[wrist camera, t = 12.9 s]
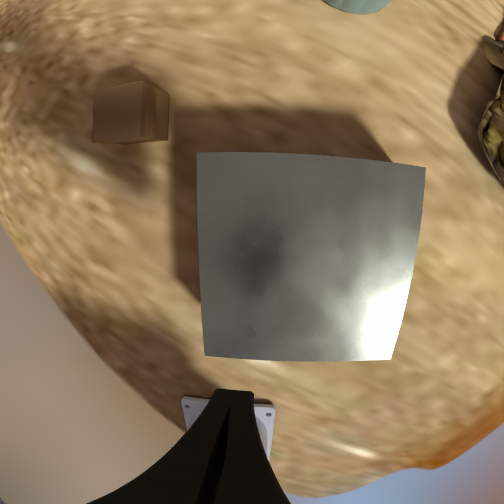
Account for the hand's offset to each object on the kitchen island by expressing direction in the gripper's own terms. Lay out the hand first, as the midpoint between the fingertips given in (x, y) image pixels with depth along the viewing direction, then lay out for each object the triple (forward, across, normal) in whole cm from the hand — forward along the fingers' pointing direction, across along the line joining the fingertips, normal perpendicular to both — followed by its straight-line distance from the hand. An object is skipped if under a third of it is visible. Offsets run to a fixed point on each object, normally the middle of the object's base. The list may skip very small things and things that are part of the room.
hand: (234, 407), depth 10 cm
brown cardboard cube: (+10, +7, -12) cm, 17 cm away
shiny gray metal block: (+10, -3, -4) cm, 11 cm away
